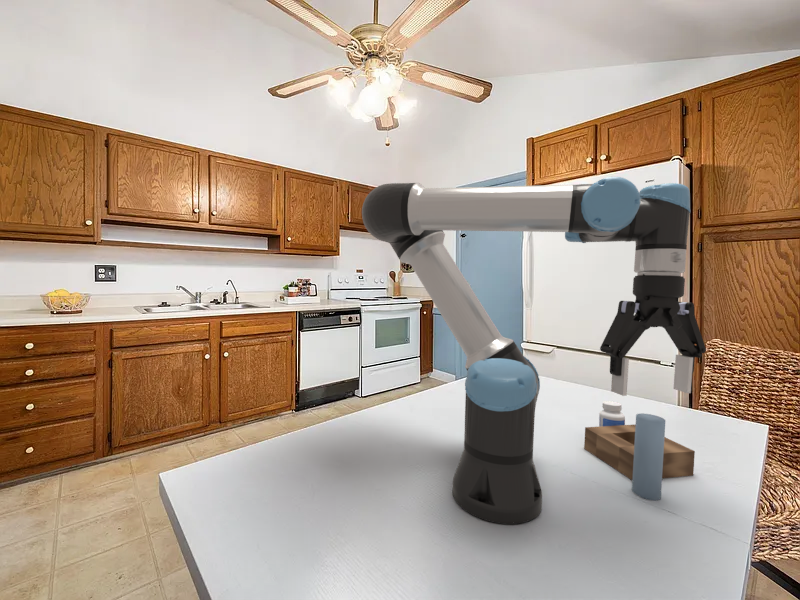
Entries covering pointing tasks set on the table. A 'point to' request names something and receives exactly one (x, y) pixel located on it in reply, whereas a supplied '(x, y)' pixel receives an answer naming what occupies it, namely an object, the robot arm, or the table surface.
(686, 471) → the socket block
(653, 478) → the peg
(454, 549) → the table surface
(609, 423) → the pill bottle
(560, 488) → the table surface
